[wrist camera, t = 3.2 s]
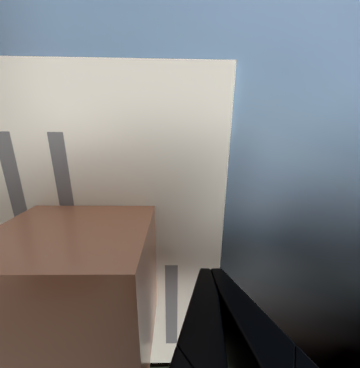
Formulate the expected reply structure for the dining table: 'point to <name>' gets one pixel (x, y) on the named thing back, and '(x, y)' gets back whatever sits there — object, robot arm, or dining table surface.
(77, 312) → the terracotta block
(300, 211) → the dining table surface
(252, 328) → the robot arm
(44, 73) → the letter
